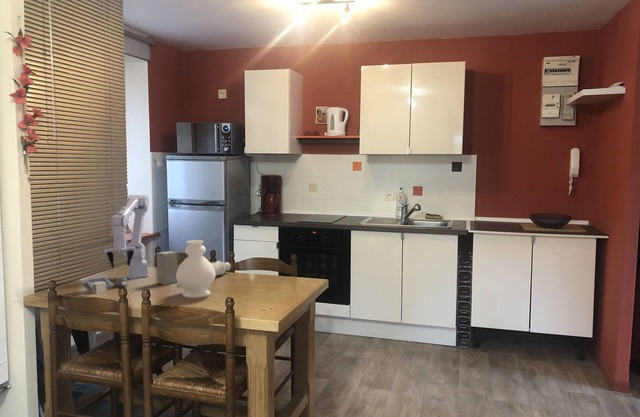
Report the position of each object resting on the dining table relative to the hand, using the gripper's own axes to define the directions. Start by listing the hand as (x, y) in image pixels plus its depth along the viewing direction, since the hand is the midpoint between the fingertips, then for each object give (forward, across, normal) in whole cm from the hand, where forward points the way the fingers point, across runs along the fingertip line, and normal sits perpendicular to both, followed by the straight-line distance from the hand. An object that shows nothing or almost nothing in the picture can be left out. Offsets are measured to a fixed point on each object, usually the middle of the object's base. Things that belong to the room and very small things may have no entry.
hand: (120, 266), depth 256 cm
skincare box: (+10, +21, -8) cm, 24 cm away
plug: (+10, 0, 0) cm, 10 cm away
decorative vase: (+10, +25, -36) cm, 46 cm away
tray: (+10, -9, +5) cm, 14 cm away
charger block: (+10, -12, -7) cm, 17 cm away
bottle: (+10, +43, -10) cm, 45 cm away
